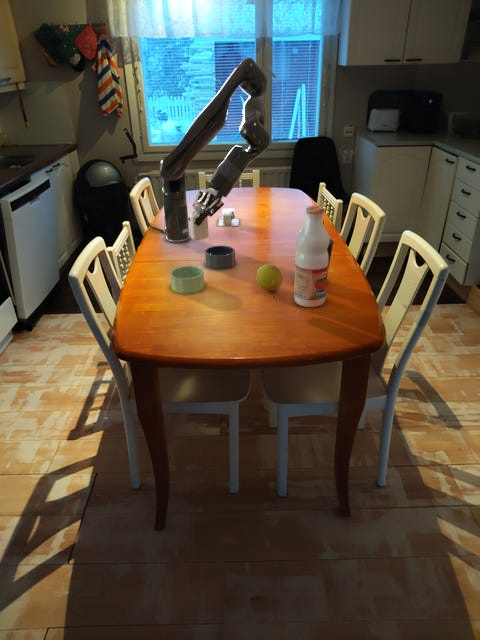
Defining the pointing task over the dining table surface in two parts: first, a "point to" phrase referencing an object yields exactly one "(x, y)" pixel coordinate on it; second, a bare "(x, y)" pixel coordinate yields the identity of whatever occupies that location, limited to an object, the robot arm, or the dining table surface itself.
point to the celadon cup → (187, 279)
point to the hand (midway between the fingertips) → (193, 222)
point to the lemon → (269, 277)
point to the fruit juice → (312, 260)
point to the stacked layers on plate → (228, 218)
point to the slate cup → (220, 257)
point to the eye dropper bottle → (201, 230)
